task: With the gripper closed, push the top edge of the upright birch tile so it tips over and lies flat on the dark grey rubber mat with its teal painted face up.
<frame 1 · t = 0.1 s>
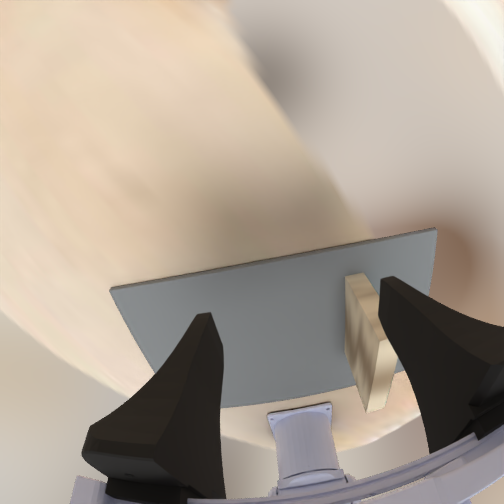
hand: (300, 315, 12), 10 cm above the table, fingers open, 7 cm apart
rubber mat: (289, 342, 26), on the table
birch tile: (353, 316, 24), resting on rubber mat
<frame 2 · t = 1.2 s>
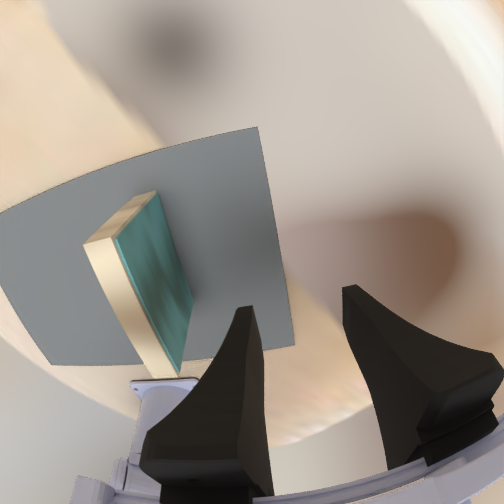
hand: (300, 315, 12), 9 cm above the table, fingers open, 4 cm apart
rubber mat: (109, 284, 22), on the table
birch tile: (164, 252, 20), resting on rubber mat
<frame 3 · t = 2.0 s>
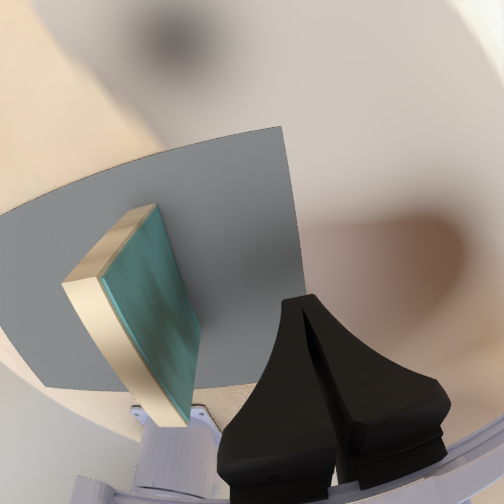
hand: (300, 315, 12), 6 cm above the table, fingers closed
rubber mat: (103, 309, 19), on the table
birch tile: (166, 276, 17), resting on rubber mat
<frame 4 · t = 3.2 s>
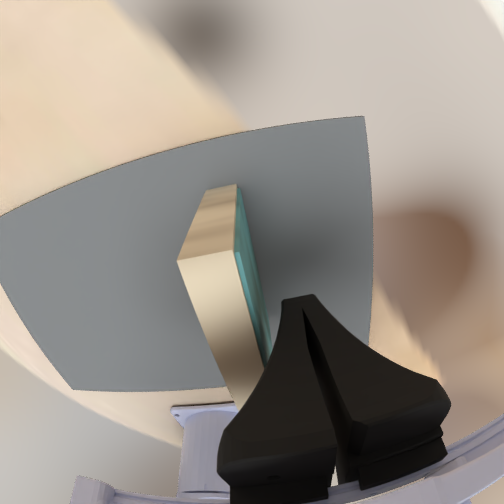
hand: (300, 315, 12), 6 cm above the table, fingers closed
rubber mat: (157, 301, 18), on the table
birch tile: (239, 262, 17), resting on rubber mat
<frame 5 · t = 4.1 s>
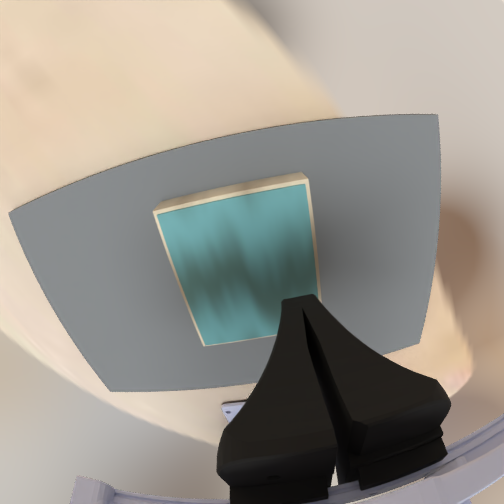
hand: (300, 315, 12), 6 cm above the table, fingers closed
rubber mat: (231, 289, 18), on the table
birch tile: (314, 255, 16), point 1 cm above the table, tilted 90°, touching rubber mat
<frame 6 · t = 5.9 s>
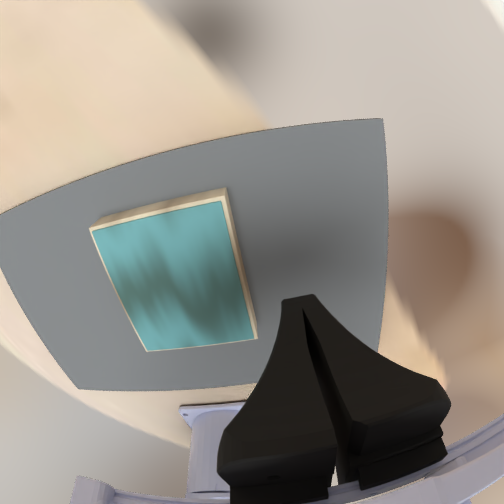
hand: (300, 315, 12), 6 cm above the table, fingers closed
rubber mat: (171, 299, 18), on the table
birch tile: (243, 270, 16), point 1 cm above the table, tilted 90°, touching rubber mat
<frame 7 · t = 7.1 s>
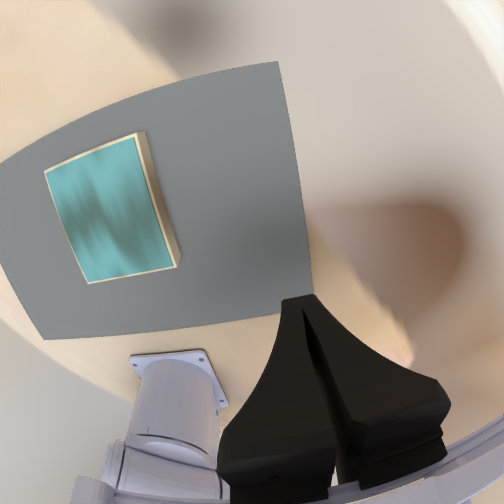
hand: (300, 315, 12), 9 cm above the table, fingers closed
rubber mat: (110, 236, 20), on the table
birch tile: (159, 199, 17), point 1 cm above the table, tilted 90°, touching rubber mat
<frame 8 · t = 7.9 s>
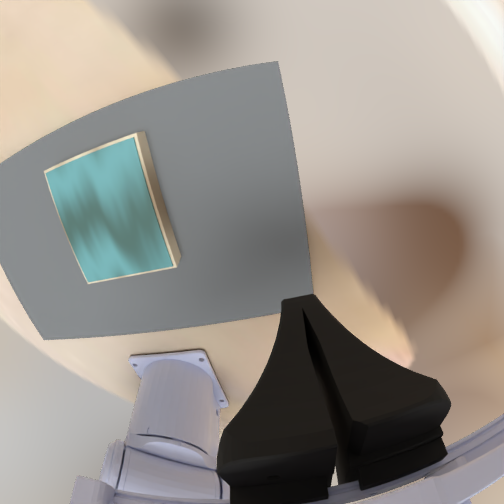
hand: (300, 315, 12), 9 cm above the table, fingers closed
rubber mat: (110, 236, 20), on the table
birch tile: (159, 199, 17), point 1 cm above the table, tilted 90°, touching rubber mat
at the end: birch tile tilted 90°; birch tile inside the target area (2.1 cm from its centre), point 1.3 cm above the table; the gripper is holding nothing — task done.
